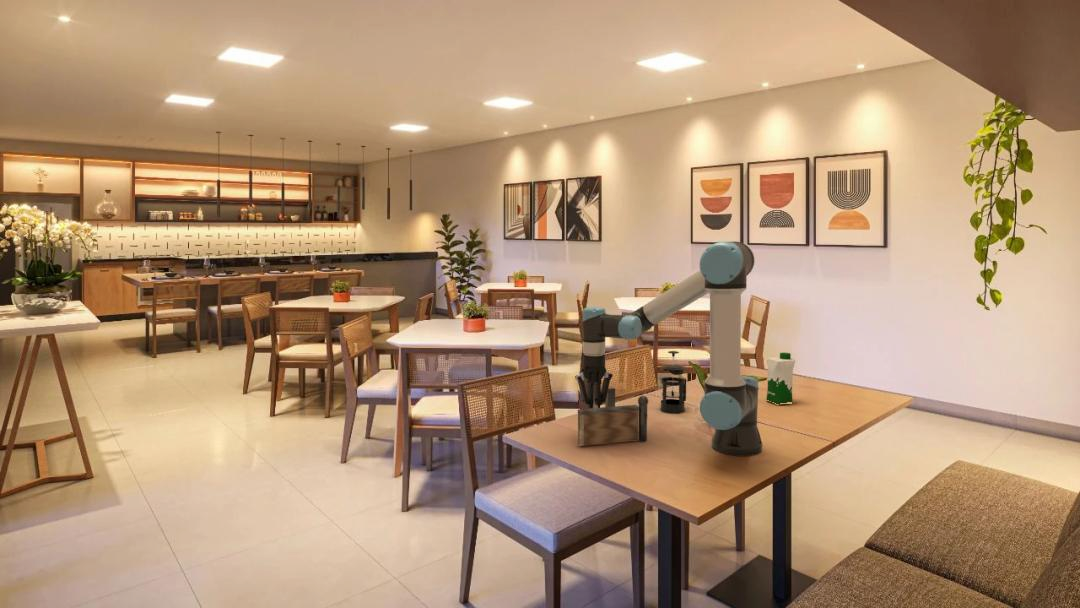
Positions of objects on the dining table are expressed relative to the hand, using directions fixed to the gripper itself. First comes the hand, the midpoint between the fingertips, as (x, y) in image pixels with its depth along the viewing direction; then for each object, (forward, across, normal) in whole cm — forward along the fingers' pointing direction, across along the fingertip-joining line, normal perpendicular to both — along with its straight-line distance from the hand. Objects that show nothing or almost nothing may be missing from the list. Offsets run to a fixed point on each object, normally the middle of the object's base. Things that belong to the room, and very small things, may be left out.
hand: (594, 423), depth 208 cm
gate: (+4, -1, +9) cm, 10 cm away
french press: (+5, -42, -18) cm, 46 cm away
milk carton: (+5, -87, -12) cm, 88 cm away
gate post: (+5, -13, +10) cm, 17 cm away
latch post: (+4, -13, -14) cm, 20 cm away
